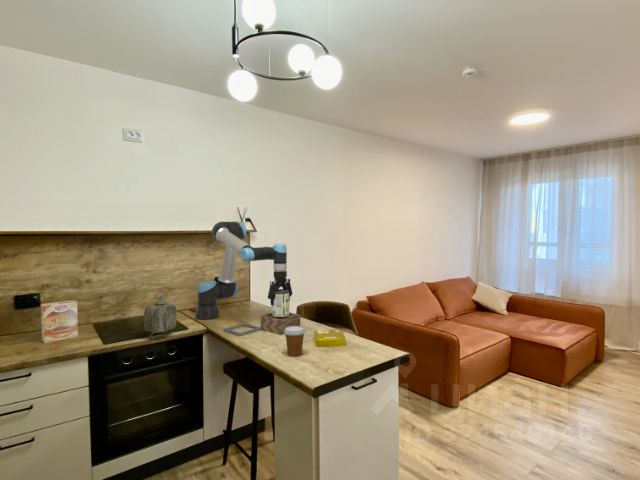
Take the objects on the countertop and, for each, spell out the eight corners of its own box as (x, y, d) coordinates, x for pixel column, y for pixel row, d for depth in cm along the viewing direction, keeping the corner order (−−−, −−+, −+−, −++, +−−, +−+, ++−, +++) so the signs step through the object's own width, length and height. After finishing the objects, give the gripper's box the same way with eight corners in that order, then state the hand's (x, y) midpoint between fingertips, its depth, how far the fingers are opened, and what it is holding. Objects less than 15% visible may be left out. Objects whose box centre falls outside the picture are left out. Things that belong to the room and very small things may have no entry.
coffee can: (273, 312, 209) (273, 288, 208) (291, 312, 208) (290, 289, 207) (269, 316, 199) (269, 292, 198) (287, 317, 198) (287, 292, 197)
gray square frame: (223, 331, 200) (223, 328, 200) (244, 325, 212) (244, 323, 212) (239, 336, 190) (239, 333, 190) (260, 330, 202) (260, 327, 202)
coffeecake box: (44, 343, 181) (43, 305, 180) (41, 340, 186) (40, 303, 185) (78, 336, 192) (77, 301, 191) (75, 334, 197) (74, 299, 196)
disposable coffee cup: (284, 351, 167) (284, 326, 166) (304, 350, 168) (304, 325, 167) (284, 358, 157) (284, 331, 157) (305, 357, 158) (305, 331, 158)
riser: (261, 329, 203) (260, 315, 202) (281, 324, 215) (281, 310, 214) (280, 335, 192) (279, 320, 192) (300, 328, 204) (300, 314, 204)
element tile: (315, 348, 172) (315, 338, 172) (313, 338, 187) (313, 329, 186) (346, 347, 173) (346, 337, 173) (341, 337, 188) (341, 328, 188)
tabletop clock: (167, 332, 199) (166, 288, 198) (178, 334, 194) (177, 289, 194) (144, 339, 186) (143, 292, 185) (155, 342, 182) (154, 294, 181)
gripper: (269, 273, 191) (270, 313, 192) (298, 269, 209) (298, 306, 209) (260, 272, 196) (261, 311, 197) (289, 268, 213) (289, 305, 214)
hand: (280, 309), depth 203 cm, fingers closed on coffee can, 10 cm apart
